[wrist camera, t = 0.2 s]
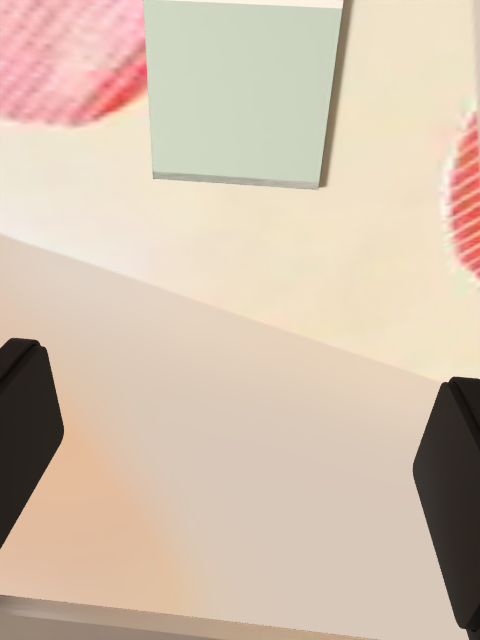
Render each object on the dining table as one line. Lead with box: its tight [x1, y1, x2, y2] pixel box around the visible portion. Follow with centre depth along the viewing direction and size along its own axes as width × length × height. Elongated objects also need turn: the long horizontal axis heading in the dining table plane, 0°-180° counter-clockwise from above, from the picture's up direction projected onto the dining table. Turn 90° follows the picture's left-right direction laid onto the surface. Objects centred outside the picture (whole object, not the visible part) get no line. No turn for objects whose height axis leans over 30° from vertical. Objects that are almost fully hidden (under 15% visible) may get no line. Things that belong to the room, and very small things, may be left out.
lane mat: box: [143, 0, 343, 190], centre depth 33 cm, size 21×14×1 cm, turn 178°
